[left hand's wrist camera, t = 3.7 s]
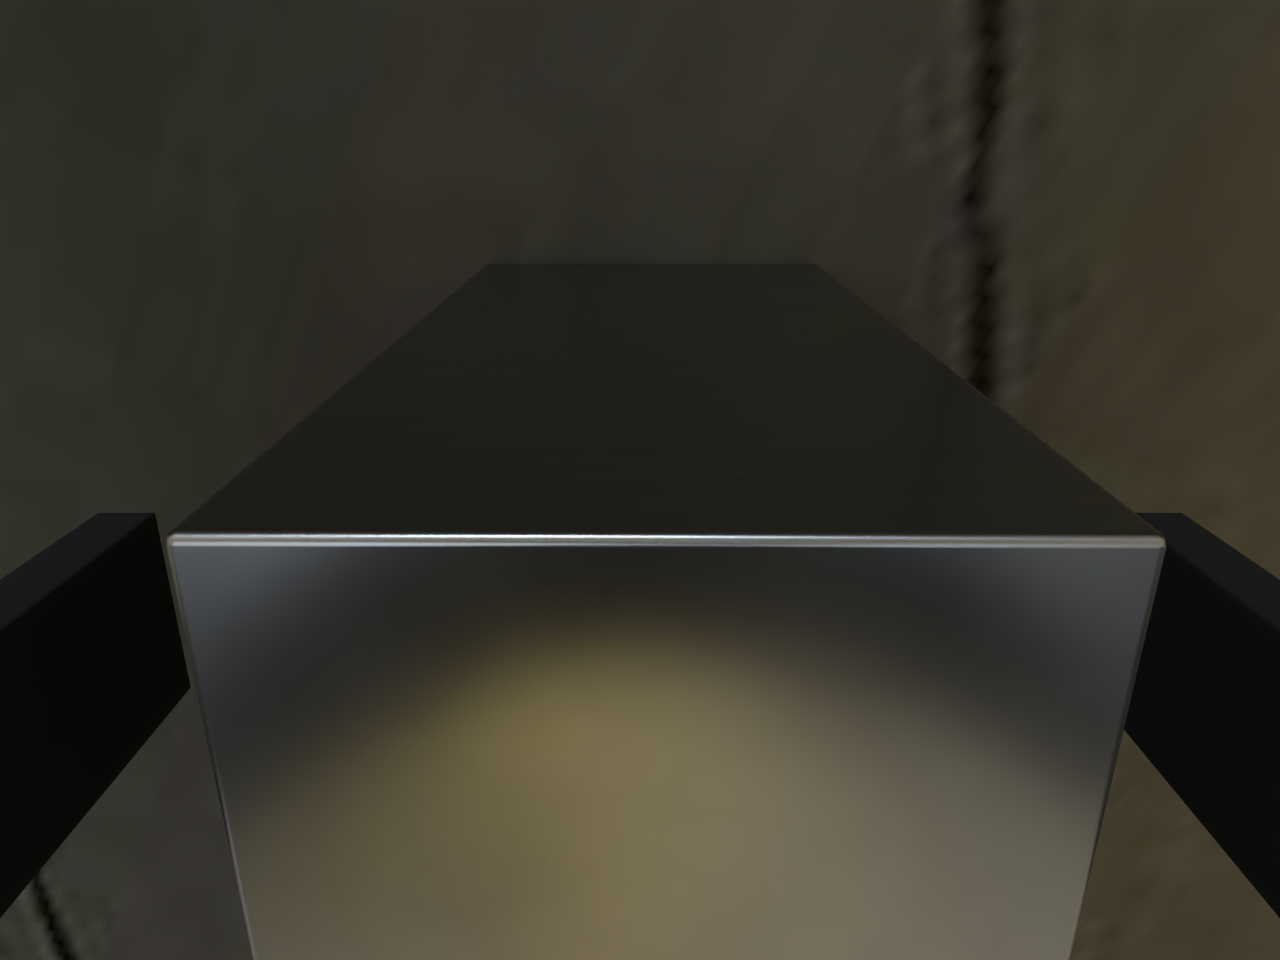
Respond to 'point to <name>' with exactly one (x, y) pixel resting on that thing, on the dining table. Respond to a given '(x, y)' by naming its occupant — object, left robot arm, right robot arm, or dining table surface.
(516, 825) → the box
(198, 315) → the dining table surface
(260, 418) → the dining table surface
